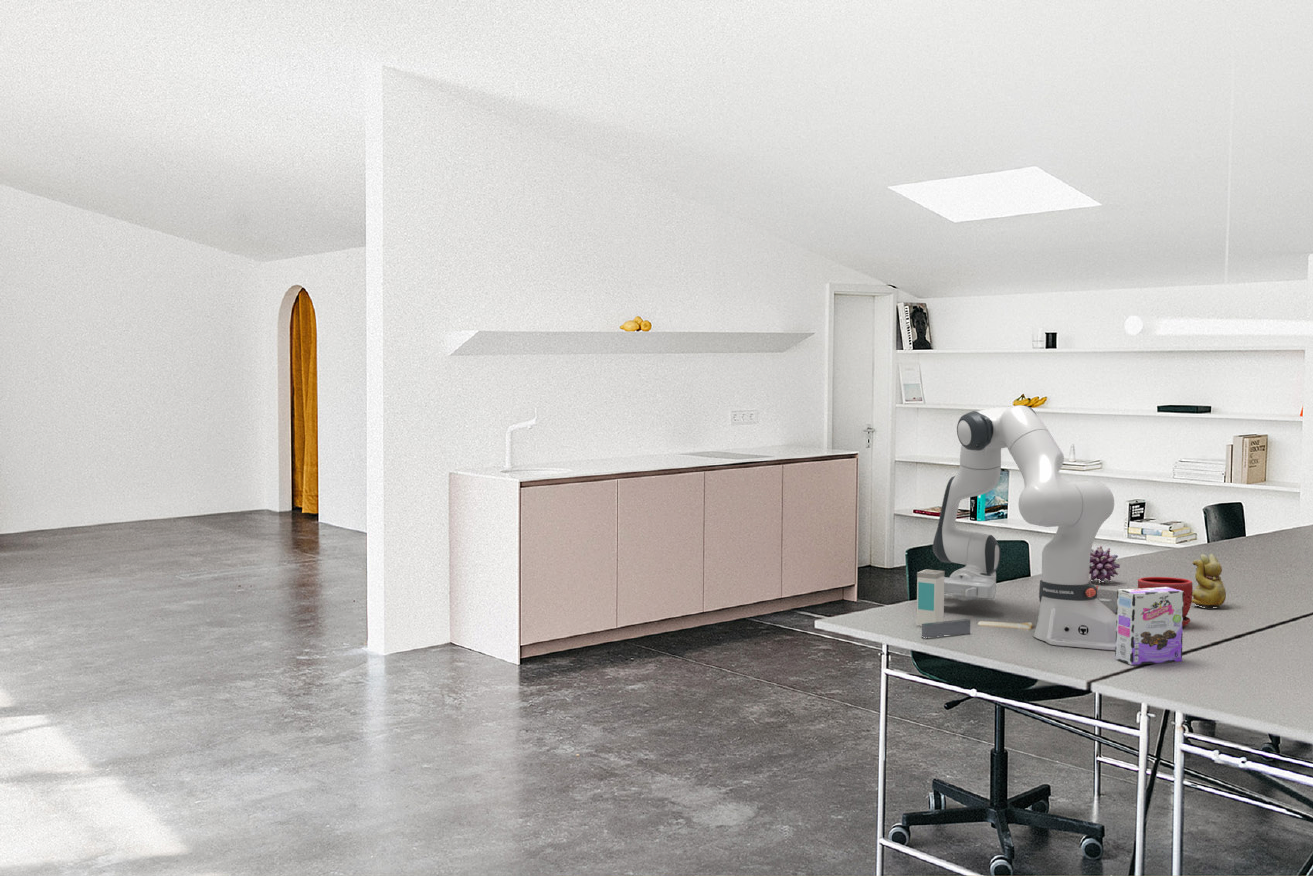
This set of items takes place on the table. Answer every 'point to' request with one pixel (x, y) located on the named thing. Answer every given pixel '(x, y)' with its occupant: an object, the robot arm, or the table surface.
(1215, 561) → the decorative figurine
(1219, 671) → the table surface
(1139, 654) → the candy box
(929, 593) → the carton
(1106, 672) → the table surface
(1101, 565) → the purple spiky ball
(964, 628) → the rail
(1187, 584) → the plant pot
